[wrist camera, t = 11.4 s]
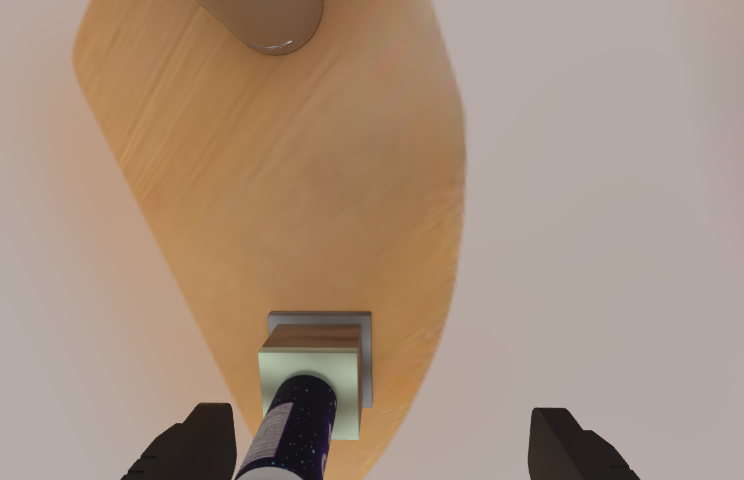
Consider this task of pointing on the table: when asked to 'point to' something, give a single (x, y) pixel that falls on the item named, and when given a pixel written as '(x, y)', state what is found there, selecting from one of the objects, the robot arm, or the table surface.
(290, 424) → the beverage can
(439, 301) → the table surface
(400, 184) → the table surface
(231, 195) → the table surface
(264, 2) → the robot arm
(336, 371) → the block
